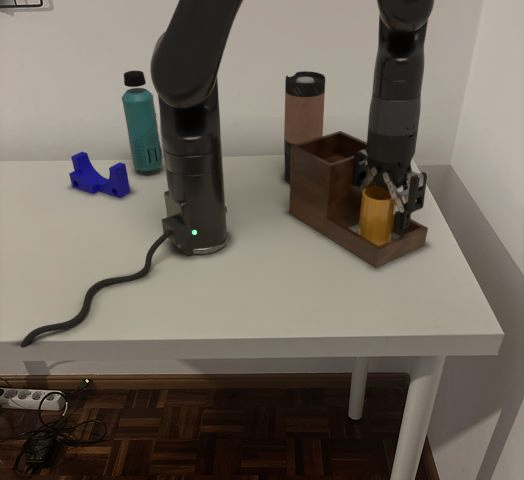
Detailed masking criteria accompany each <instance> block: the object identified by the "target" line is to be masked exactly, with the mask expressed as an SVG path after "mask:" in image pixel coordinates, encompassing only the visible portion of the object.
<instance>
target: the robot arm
mask: <svg viewBox="0 0 524 480" xmlns="http://www.w3.org/2000/svg"><path fill="white" fill-rule="evenodd" d="M243 2H244V0H178V2H177V4H176V7H175V9H174V12H173V14H172V16H171V19H170V21H169V23H168V26H167V28H166V30H165V31H164V32H162V34H160V36H159V37H158V39H157V40H156V42H155V45H154V47H153V51H152V55H151V58H150V62H149V63H150V65H149V72H150V79H151V82H152V85H153V88H154V90H155V92H156V93H157V99H158V100H157V101H158V107H159V108H158V109H159V127H160V128H159V129H160V131H159V133H160V139H161V148H162V154H163V161H164V167H165V176H166V183H167V190H165V191H164V193H163V196H164V204H165V210H166V211H165V212H166V217H164V218H162V219H161V226H162V234H161V235H160V236H159V237H158V238H157V239H156V240H155V241H154V242H153V243H152V245H151V246H150V247H149V249H148V251H147V252H146V255H145V261H144V266H143V267H142V269H141V270H139V271H138V272H136V273H134V274H130V275H125V276H116V277H109V278H104V279H101V280H99V281H96V282H94V284H93V285H91V286H90V287H89V288H88V290H87V291H86V293H85V296H84V299H83V303H82V307H81V309H80V311H79V312H78V313H77V314H76V315H75V316H74V317H73V318H71V319H70V320H67V321H64V322H59V323H52V324H51V323H50V324H46V325H42V326H39V327H37V328H35V329H32V331H30V332H29V333H28V334H27V335H26V336H25V337H24V338H23V340H22V342H21V343H20V348H22V349H24V348H27V347H28V346H29V345H30V343H32V341H33V340H34V339H35V338H36V337H38V336H40V335H43V334H45V333H50V332H56V331H62V330H65V329H69V328H71V327H74V326H76V325H77V324H79V323H80V322H81V321H83V319H85V317H86V315H87V314H88V312H89V309H90V306H91V302H92V297H93V296H94V294H95V293H96V292H97V291H98V290H100V289H101V288H103V287H105V286H108V285H114V284H115V285H116V284H122V283H127V282H132V281H136V280H139V279H141V278H142V277H144V276H145V275H146V274H147V273H148V272H149V271H150V269H151V267H152V260H153V257H154V254H155V253H156V251H157V249H159V247H160V246H161V245H162V244H163V243H164V242H166V240H167V239H168V240H169V241H170V242H171V244H173V245H174V246H175V247H176V248H177V249H178V250H180V252H181V253H182V254H184V255H185V256H187V257H190V256H192V255H207V254H211V253H214V252H218V251H219V250H222V249H223V248H224V247H225V246H226V245H227V244H228V241H229V236H228V227H227V214H228V210H227V209H228V207H227V206H226V197H225V180H224V164H223V149H222V129H221V114H220V113H221V112H220V100H219V80H218V74H219V70H220V66H221V62H222V59H223V56H224V52H225V49H226V46H227V43H228V39H229V37H230V33H231V31H232V28H233V25H234V22H235V20H236V17H237V15H238V12H239V11H240V8H241V6H242V4H243ZM376 3H377V8H378V12H379V14H378V33H377V34H378V36H377V37H378V38H377V52H376V55H375V62H374V68H373V80H372V90H371V91H372V94H371V100H370V103H369V109H368V124H367V134H366V135H367V136H366V142H367V148H366V149H364V150H361V151H358V152H355V154H354V164H353V176H352V184H353V186H357V187H358V188H359V191H360V193H361V196H360V209H361V201H362V192H363V190H364V189H365V188H369V187H370V186H374V185H376V186H378V187H383V188H384V189H385V190H387V191H389V192H390V194H391V197H392V199H393V200H395V201H396V204H397V205H396V208H397V209H398V210H396V211H397V217H396V226H395V230H396V231H398V232H401V231H403V230H405V229H406V228H408V227H409V225H410V219H411V217H412V214H413V213H414V212H416V211H419V210H421V209H422V210H423V208H424V204H425V197H426V188H427V180H428V174H427V173H426V171H422V172H416V171H414V170H413V169H412V164H411V163H412V160H413V158H414V156H415V154H416V147H417V141H418V134H419V126H420V118H421V110H422V107H421V106H422V99H421V97H422V90H423V81H424V72H425V42H426V37H427V36H426V35H427V30H428V23H429V19H430V16H431V14H432V12H433V10H434V5H435V0H376ZM368 166H369V169H370V172H369V174H368ZM360 173H361V177H359V175H360ZM401 188H402V190H401V191H398V190H399V189H401Z"/></svg>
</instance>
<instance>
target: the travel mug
mask: <svg viewBox="0 0 524 480" xmlns="http://www.w3.org/2000/svg"><path fill="white" fill-rule="evenodd" d="M284 83H285V85H284V86H285V87H284V130H283V131H284V132H283V137H284V139H283V144H284V145H283V150H284V151H283V152H284V153H283V154H284V179H285V182H286V183H288V184H289V185H290V161H291V146H292V145H296V144H299V143H302V142H306V141H309V140H312V139H315V138H319V137H322V136H324V115H325V97H326V96H325V94H326V93H325V92H326V76H325V75H324V74H322V73H320V72H316V71H308V70H307V71H303V70H302V71H297V72H295V73H294V75H292V76H288V75H286V76H285V82H284Z"/></svg>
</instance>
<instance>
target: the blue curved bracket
mask: <svg viewBox="0 0 524 480" xmlns="http://www.w3.org/2000/svg"><path fill="white" fill-rule="evenodd" d="M70 158H71V162H72V165H73V170H74V171H71V172H69V173H68V175H69V178H70V179H69V180H70V182H71V187H72V188H73V189H76V190H80V191H81V192H82V191H83V192H86V193H89V194H91V195H94V194H97V193H98V192H100V193H103V194H106V195H109V196H111V197H112V196H113V197H115V198H118V199H121V198H123V197H125V196H127V195H128V194H130V193H131V186H130V181H129V176H128V170H127V164H126V163H124V162H121V161H119V162H117V163H116V164H114V165H112V166H110V167H108V170H109V171H108V172H109V176H108V178H106V177H104V176H103V175H101V174H100V173H99V172H98V171H97V170H96V168H95V167H94V165H93V164H92V162H91V160H90V158H89V155H88V152H85V151H80V152H78V153H76V154H73V155H71V156H70Z"/></svg>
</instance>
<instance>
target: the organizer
mask: <svg viewBox="0 0 524 480" xmlns="http://www.w3.org/2000/svg"><path fill="white" fill-rule="evenodd" d="M366 148H367V141H364V140H363V139H360V138H357V137H355V136H353V135H351V134H348V133H346V132H344V131H342V130H339V131H336V132H335V131H334V132H332V133H330V134H325V135H323V136H322V137H319V138H315V139H312V140H309V141H306V142H302V143H299V144H296V145H292V146H291V161H290V184H289V214H290V215H291V216H293V217H294V218H296V219H298V220H299V221H301V222H302V223H304V224H305V225H307V226H309V228H312V229H313V230H315V231H317V232H318V233H320V234H322V235H323V236H325V237H327V238H328V239H329V240H331V241H332V242H334V243H336V244H338V245H339V246H341V247H342V248H344V249H346V250H347V251H349V252H351V254H353V255H355V256H357V257H358V258H360V259H362V260H363V261H365V262H366V263H368V264H369V265H371V266H373V267H374V268H376V269H377V268H379V267H382V266H383V265H386V264H388V263H390V262H392V261H394V260H396V259H399V258H400V257H402V256H406V255H408V254H410V253H412V252H414V251H416V250H418V249H421V248H422V247H424V246H425V244H426V240H427V237H428V230H429V227H427V226H426V225H423V224H421V223H420V222H418V221H416V220H414V219H413V218H410V225H409V227H408V228H406V229H405V230H403V231H401V232H398V231H396V230H395V226H396V217H397V211H398V210H396V212H395V218H394V224H393V231H392V232H393V233H395V234H397V235H399V237H397V238H396V237H395V238H394V239H391V241H389V242H387V243H385V244H383V245H380V246H378V245H376V244H374V243H373V242H371V241H369V240H367V239H366V238H364V237H362V236H361V235H359V234H358V232H356V231H354V230H352V228H351V229H350V228H349V227H351V226H354V225H356V224H359V219H360V210H361V209H360V196H361V193H360V191H359V188H358V187H357V186H353V184H352V176H353V164H354V154H355V152H358V151H361V150H364V149H366ZM369 172H370V169H369V166H368V174H369ZM359 177H361V173H360V175H359Z"/></svg>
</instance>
